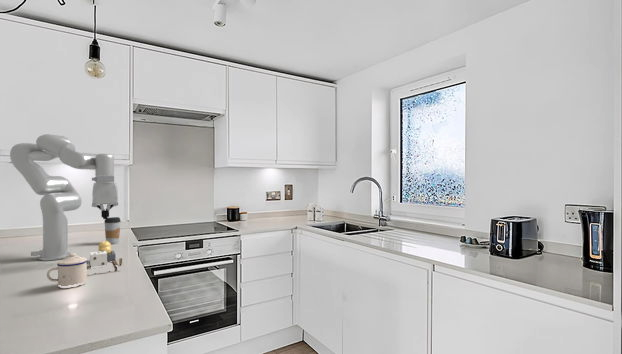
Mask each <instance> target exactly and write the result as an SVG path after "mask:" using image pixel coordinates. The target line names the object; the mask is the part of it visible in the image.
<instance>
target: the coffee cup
mask: <svg viewBox="0 0 622 354" xmlns="http://www.w3.org/2000/svg"><path fill="white" fill-rule="evenodd" d="M103 220H104V222H103V223H104V231H105V233H104V235H105V241H108V242H109V243H110V244H111V245H117V244H119V242H120V233H121V218H120V217H118V216H117V217H115V216H113V217H108V219H106V218H105V219H103Z"/></svg>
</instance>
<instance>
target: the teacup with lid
mask: <svg viewBox="0 0 622 354" xmlns="http://www.w3.org/2000/svg"><path fill="white" fill-rule="evenodd" d="M70 253H71V254H69V257H66V258H64V259H59V260H58V262H56V263H57V264H56V266H57V267H56V266H55V267H52V268H50V269H48V270H47V272H46V277H47V279H48V280H49V281H51V282H57V286H58V285H61V286H68V285H74V284H78V283H82V282H84V281H86V280H87V277H88V276H87V274H88V273H87V271H88V270H87V269H88V267H87V265H88V264H87V262H88V259H87V257H81V256H80V255H77V254H76V253H75V252H74V253H73V252H70ZM56 270H57V279H56V278H55V279H54V278H52V277H51V276H50V273H51V272H52V271H56ZM87 281H88V280H87Z"/></svg>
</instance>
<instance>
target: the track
mask: <svg viewBox="0 0 622 354" xmlns="http://www.w3.org/2000/svg"><path fill="white" fill-rule="evenodd" d="M113 262H114V263H113ZM113 262H112V263H113V265H114V264H115V265H118V266H119V264H122V265H123V258H122V257H120V258H119V259H118V261H117V260H116V259H115V261H113ZM115 265H114V266H115Z"/></svg>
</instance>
